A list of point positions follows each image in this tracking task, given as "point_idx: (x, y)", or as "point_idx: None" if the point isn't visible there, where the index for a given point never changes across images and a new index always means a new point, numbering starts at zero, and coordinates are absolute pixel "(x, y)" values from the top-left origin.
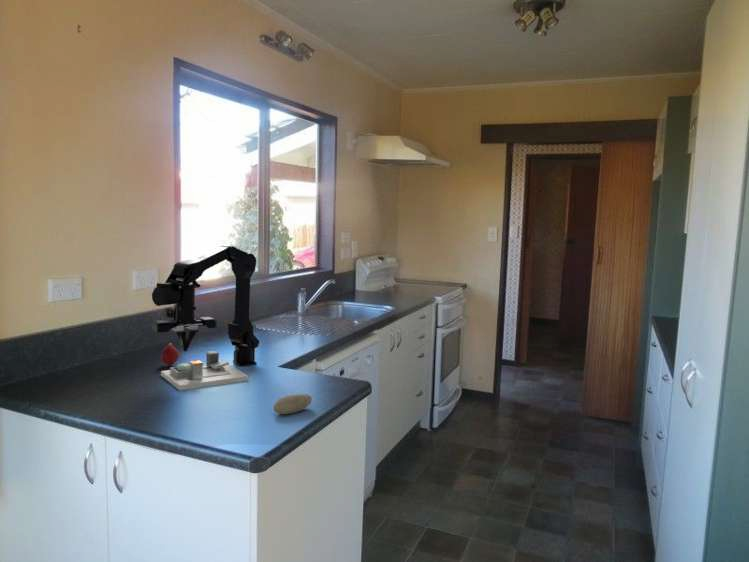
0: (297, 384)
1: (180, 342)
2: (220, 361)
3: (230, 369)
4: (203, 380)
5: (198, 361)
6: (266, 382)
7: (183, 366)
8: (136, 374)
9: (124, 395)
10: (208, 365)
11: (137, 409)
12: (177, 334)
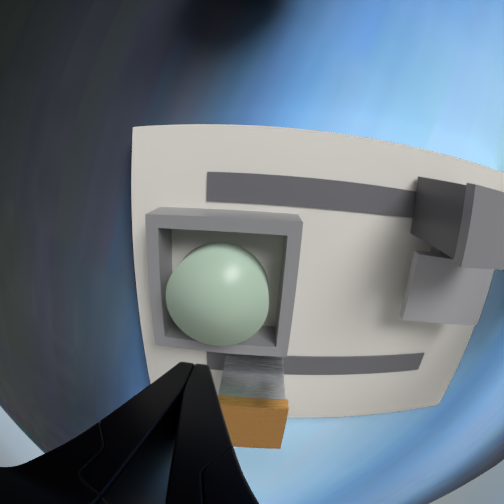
0: (468, 443)
1: (118, 418)
2: (472, 270)
3: None
4: None
5: (269, 424)
6: (446, 420)
7: (198, 328)
8: (65, 68)
9: (12, 326)
10: (419, 214)
11: (54, 425)
12: (28, 480)
